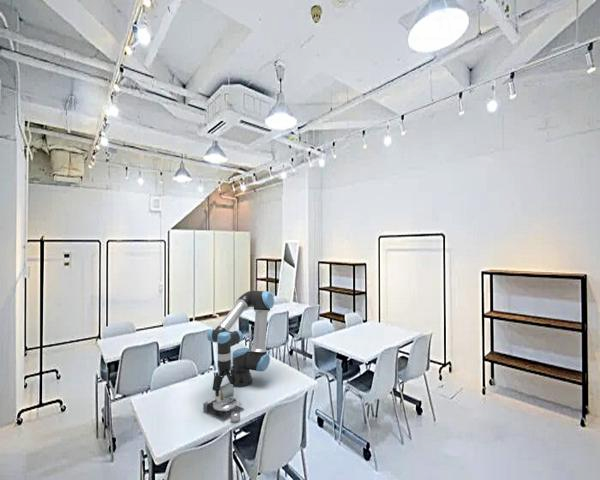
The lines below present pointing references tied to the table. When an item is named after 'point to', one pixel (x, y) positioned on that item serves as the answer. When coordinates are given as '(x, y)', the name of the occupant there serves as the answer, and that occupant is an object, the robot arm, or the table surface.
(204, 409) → the scale base
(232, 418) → the steel spacer
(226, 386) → the ceramic mug
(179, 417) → the table surface
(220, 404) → the pan
